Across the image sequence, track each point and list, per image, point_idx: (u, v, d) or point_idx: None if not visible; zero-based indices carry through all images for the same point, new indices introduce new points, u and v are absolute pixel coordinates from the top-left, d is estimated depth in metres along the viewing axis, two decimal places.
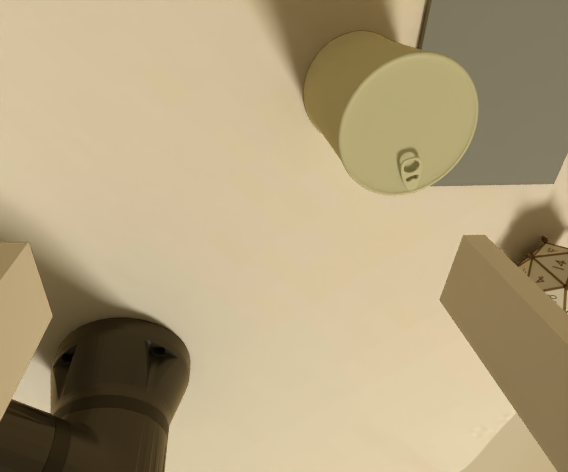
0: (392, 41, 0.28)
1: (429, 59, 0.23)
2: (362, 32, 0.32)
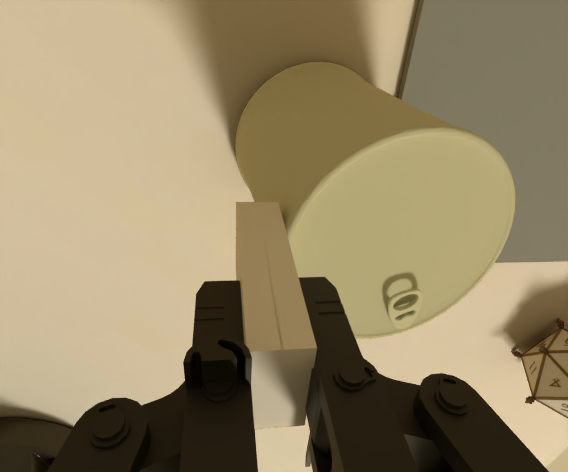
0: (367, 86, 0.18)
1: (442, 139, 0.12)
2: (319, 64, 0.21)
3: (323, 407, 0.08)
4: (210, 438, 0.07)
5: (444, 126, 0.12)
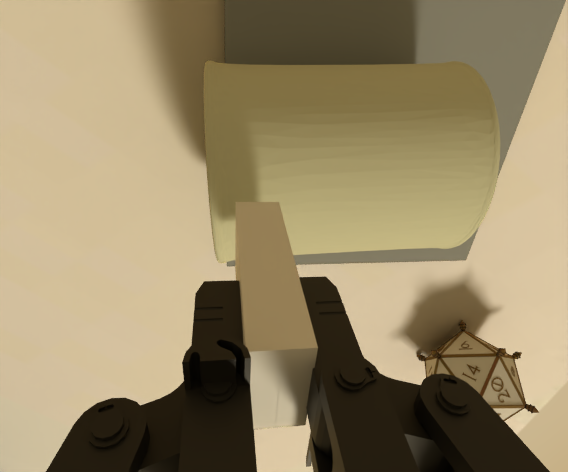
0: None
1: None
2: (217, 64, 0.16)
3: (324, 407, 0.08)
4: (209, 438, 0.07)
5: (459, 62, 0.18)
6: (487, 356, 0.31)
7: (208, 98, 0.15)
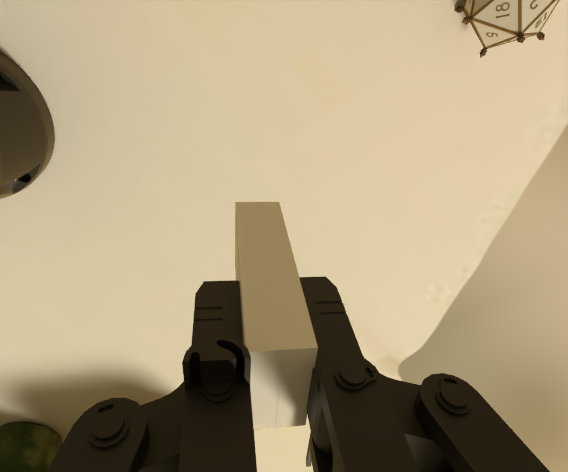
0: None
1: None
2: None
3: (324, 407, 0.08)
4: (209, 438, 0.07)
5: None
6: None
7: None
